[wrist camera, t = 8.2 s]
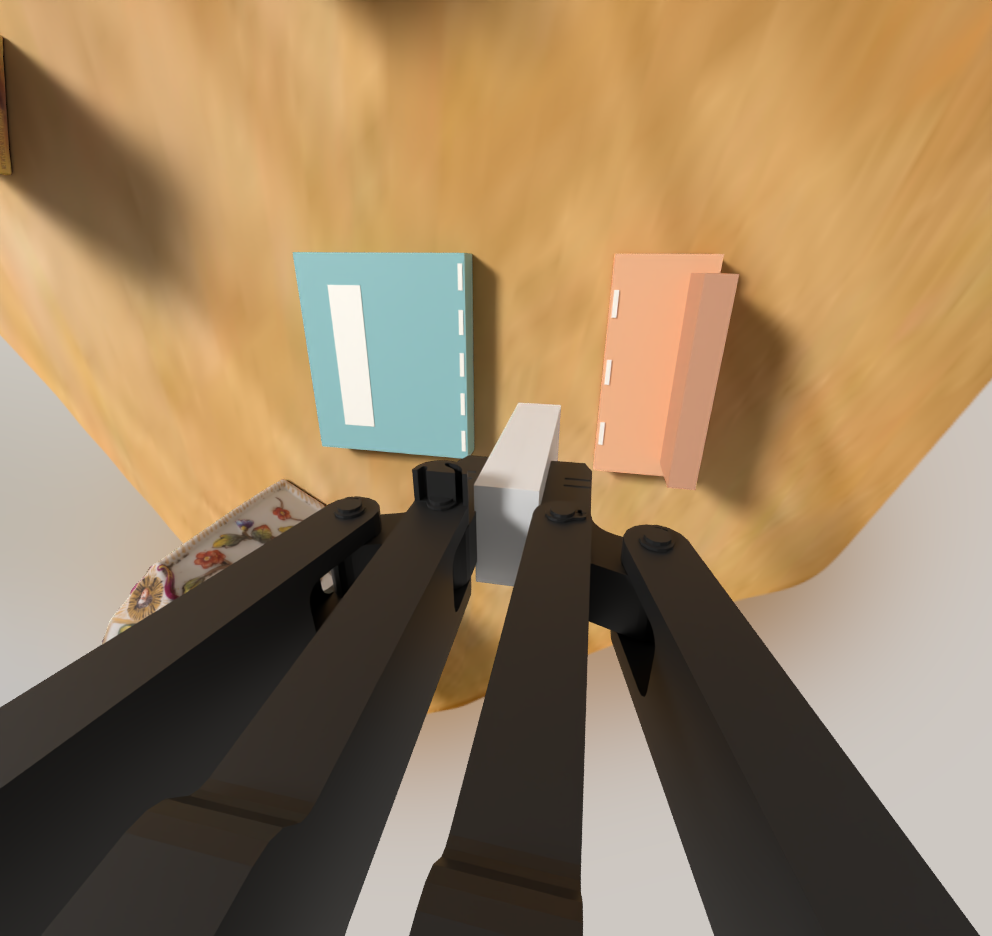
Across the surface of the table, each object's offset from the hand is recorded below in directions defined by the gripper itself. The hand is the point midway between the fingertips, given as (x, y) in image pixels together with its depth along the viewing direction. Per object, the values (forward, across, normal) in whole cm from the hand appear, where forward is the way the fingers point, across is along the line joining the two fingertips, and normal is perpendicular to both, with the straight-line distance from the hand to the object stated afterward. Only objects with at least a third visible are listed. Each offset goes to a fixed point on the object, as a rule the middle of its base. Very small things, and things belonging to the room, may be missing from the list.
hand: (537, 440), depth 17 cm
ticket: (+17, -13, -1) cm, 21 cm away
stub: (+17, +6, -1) cm, 18 cm away
